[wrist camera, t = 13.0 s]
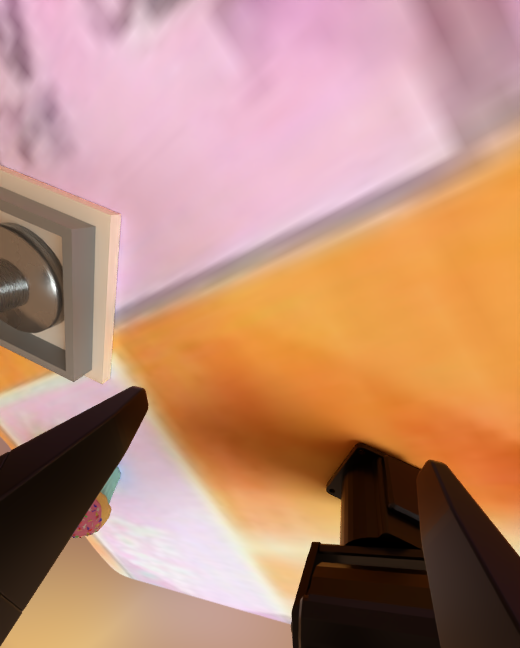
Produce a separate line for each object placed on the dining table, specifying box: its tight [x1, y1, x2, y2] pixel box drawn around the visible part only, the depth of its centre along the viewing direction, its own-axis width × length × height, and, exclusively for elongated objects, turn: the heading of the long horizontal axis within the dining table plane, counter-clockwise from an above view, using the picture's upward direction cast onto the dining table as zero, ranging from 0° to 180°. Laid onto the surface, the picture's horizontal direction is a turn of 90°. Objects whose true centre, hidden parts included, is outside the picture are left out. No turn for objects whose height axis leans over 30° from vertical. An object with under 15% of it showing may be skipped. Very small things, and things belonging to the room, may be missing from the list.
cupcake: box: [71, 467, 120, 538], centre depth 30 cm, size 9×8×12 cm
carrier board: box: [0, 165, 121, 384], centre depth 24 cm, size 16×16×3 cm
